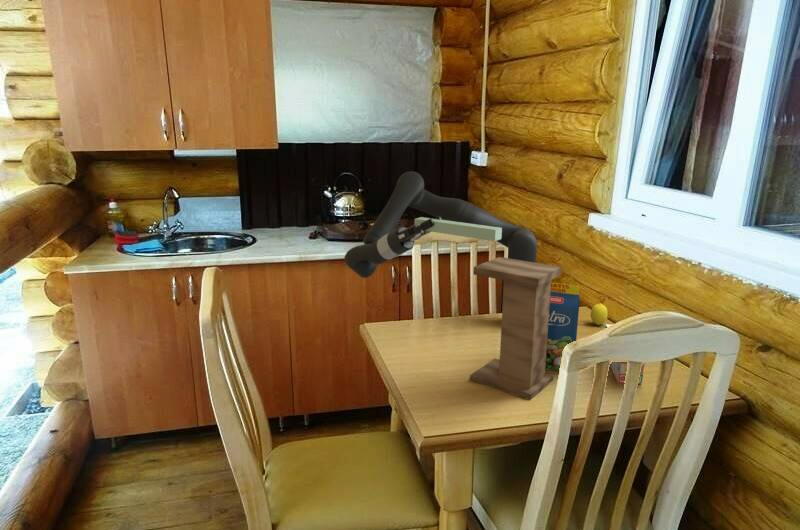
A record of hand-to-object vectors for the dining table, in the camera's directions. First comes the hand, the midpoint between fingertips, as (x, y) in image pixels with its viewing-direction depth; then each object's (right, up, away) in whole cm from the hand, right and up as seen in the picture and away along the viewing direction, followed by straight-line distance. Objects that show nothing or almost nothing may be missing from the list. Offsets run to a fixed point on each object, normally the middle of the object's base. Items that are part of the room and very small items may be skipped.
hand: (436, 220), depth 158 cm
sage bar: (+5, -4, -3) cm, 7 cm away
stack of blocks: (+53, -42, +4) cm, 68 cm away
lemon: (+58, -33, +36) cm, 77 cm away
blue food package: (+33, -42, +4) cm, 54 cm away
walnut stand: (+20, -44, -5) cm, 49 cm away
